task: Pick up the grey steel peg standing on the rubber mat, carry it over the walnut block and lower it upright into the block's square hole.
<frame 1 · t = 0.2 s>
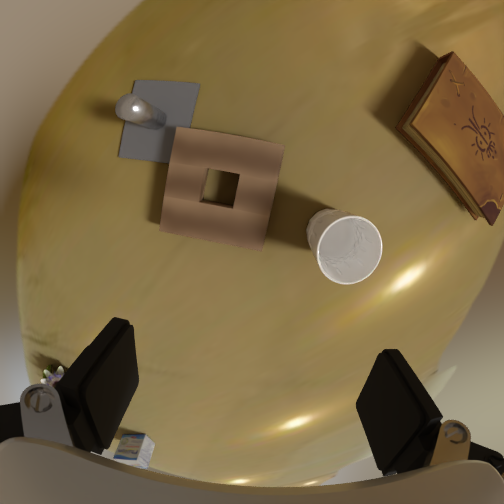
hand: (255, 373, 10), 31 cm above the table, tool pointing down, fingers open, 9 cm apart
medicine box: (139, 438, 55), on the table
mat: (157, 120, 35), on the table
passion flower: (70, 379, 50), on the table
white cup: (328, 231, 40), on the table
hole block: (221, 186, 38), on the table
diary: (461, 137, 35), on the table
peg: (156, 119, 35), resting on mat
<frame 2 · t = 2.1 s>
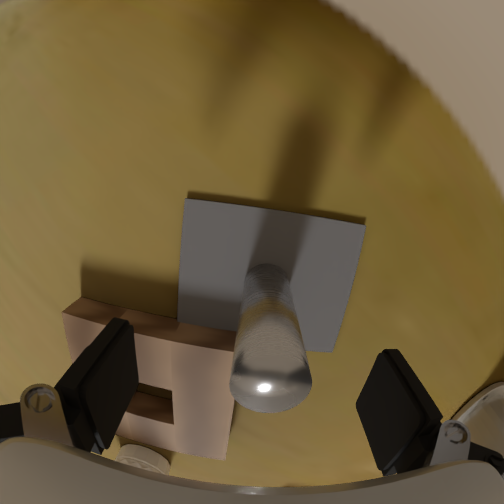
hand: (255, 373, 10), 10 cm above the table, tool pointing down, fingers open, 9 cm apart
mat: (266, 282, 19), on the table
white cup: (145, 456, 27), on the table
hole block: (157, 380, 22), on the table
peg: (266, 284, 19), resting on mat
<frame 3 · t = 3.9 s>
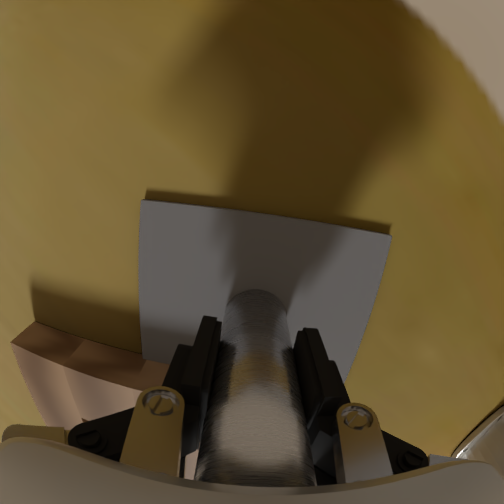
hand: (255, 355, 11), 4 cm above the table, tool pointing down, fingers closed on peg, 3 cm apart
mat: (255, 312, 14), on the table
hole block: (128, 417, 17), on the table
peg: (255, 316, 14), resting on mat, touching gripper
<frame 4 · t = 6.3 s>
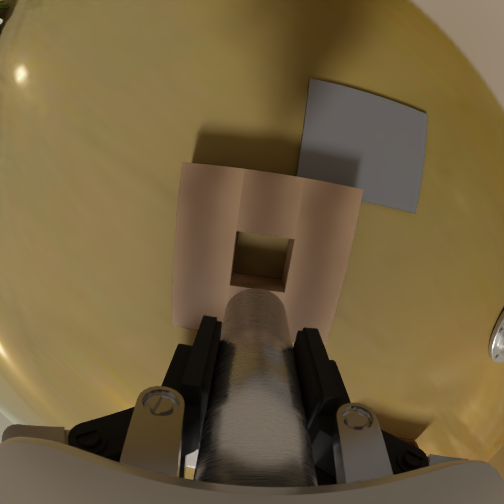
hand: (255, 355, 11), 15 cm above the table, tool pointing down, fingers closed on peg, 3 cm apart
mat: (367, 146, 22), on the table
hole block: (261, 252, 25), on the table
peg: (255, 316, 14), point 12 cm above the table, touching gripper
when the fingers open (4 cm above the table, at t = 8.8 s): peg stays where it is, resting in hole block.
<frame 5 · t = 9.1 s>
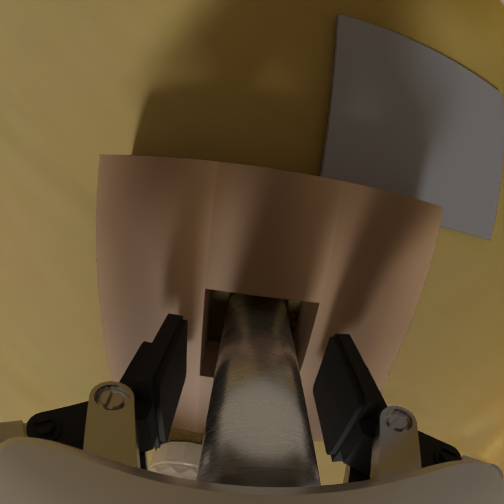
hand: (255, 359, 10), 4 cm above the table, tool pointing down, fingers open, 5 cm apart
mat: (433, 130, 11), on the table
white cup: (193, 458, 19), on the table
hole block: (255, 310, 14), on the table
peg: (256, 310, 14), resting in hole block
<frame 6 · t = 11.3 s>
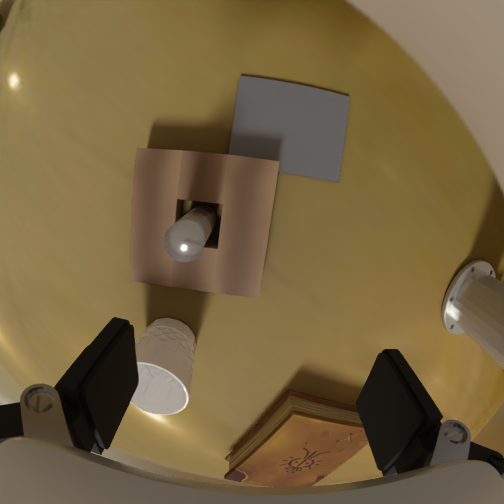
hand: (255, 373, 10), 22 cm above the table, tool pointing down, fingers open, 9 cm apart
mat: (290, 127, 27), on the table
white cup: (171, 338, 35), on the table
hole block: (201, 218, 30), on the table
diary: (298, 437, 42), on the table
peg: (202, 218, 30), resting in hole block
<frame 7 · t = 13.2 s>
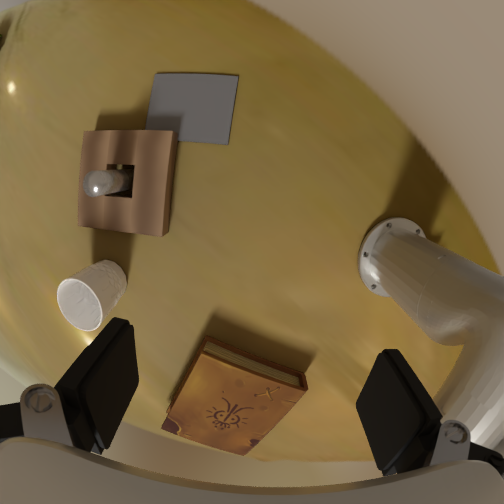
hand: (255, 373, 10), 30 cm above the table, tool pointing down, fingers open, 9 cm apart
mat: (190, 106, 34), on the table
white cup: (110, 278, 42), on the table
hole block: (128, 179, 37), on the table
diary: (230, 394, 48), on the table
peg: (128, 179, 37), resting in hole block
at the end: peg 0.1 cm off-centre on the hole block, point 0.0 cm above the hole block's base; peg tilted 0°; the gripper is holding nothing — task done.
